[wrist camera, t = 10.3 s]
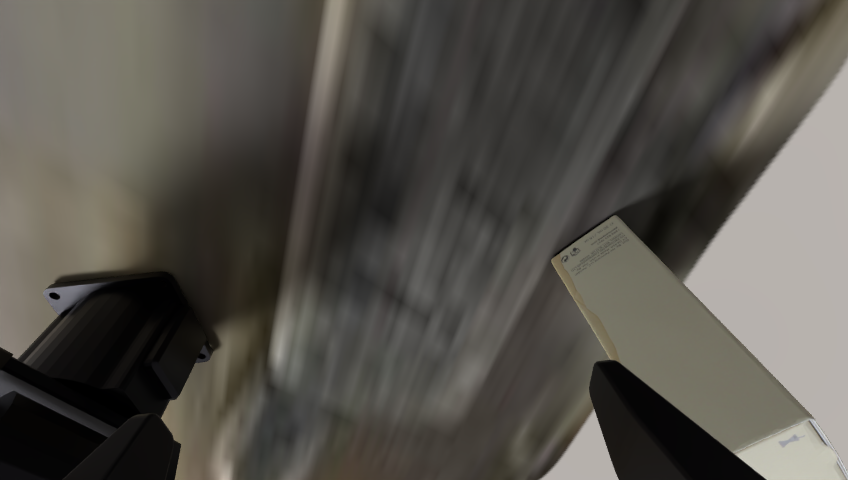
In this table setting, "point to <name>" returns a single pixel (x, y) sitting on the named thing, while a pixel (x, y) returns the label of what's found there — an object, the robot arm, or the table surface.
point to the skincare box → (691, 356)
